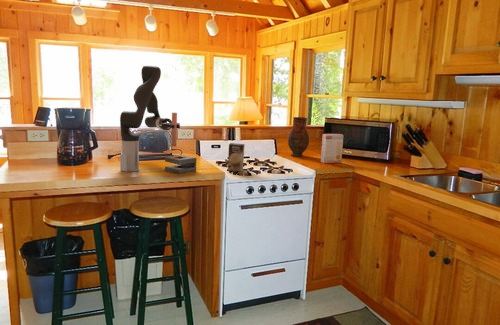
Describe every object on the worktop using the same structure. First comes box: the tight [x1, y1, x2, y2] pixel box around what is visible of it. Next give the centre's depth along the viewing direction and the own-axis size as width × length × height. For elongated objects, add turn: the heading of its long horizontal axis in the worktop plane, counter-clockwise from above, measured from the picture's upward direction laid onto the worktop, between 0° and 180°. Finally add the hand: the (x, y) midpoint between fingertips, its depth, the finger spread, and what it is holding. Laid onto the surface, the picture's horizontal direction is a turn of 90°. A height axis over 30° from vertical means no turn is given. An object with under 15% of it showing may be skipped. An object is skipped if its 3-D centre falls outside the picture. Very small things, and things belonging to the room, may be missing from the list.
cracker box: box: [320, 133, 344, 164], centre depth 269 cm, size 14×6×21 cm, turn 108°
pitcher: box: [287, 116, 310, 158], centre depth 291 cm, size 17×21×30 cm
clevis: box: [164, 154, 197, 175], centre depth 218 cm, size 14×12×8 cm
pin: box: [170, 112, 178, 147], centre depth 225 cm, size 3×3×20 cm
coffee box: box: [227, 142, 245, 173], centre depth 228 cm, size 9×6×16 cm
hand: (176, 126), depth 222 cm, fingers closed on pin, 3 cm apart
